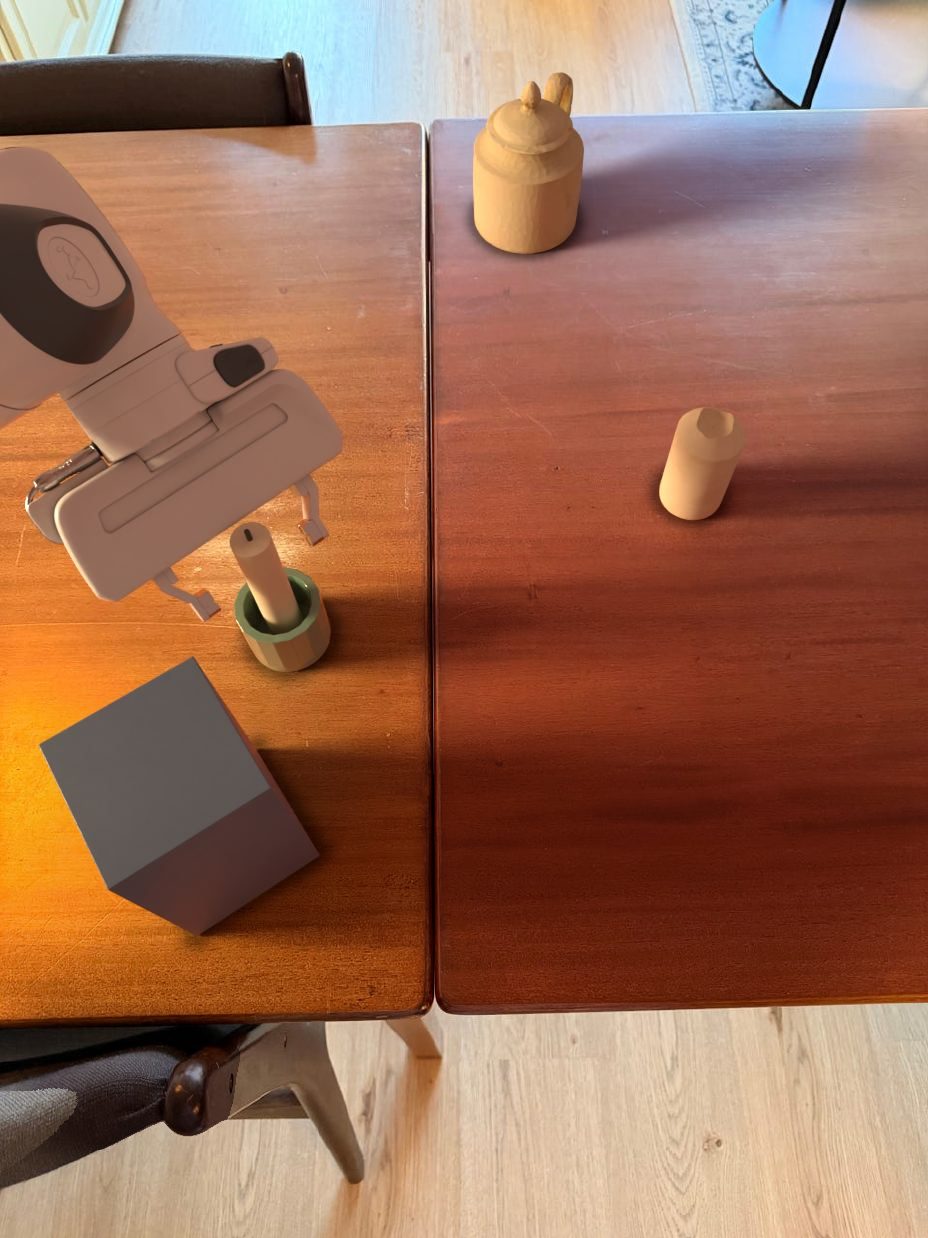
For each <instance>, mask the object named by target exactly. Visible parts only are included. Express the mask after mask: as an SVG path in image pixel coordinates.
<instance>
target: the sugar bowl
mask: <svg viewBox="0 0 928 1238" xmlns="http://www.w3.org/2000/svg"><path fill="white" fill-rule="evenodd" d="M520 93H521V94H520V98H517V99H513V100H511V101H507V102H505V103H503V104H501V105H499V106H498V107H497V108H496V109H495V110H494V111H492V113H491V114H490V115H489V116H488V117H487V120H486V121H485V122H486V123H485V126H484V127H483V128H482V129H481V130H480V131H479V132H478V133H477V135H476V137H475V140H474V143H473V158H472V159H473V161H472V162H473V163H472V189H473V190H472V191H473V217H474V218H473V219H474V225H475V228H476V229H477V232H478V233H479V235H480V237H482V239H484V241H486V242H487V243H489V244H490V245H492V246H493V247H494V248H497V249H500V250H502V251H505V252H508V253H511V254H512V253H513V254H521V255H527V254H529V255H530V254H538V253H544V252H546V251H550V250H551V249H554V248H556V247H558V246H559V245H562V244H563V243H564V242H566V240H567V239H568V238H569V237H570V235H572V233H573V231H574V229H575V227H576V222H577V217H578V208H579V201H580V196H581V195H580V194H581V188H582V178H583V168H584V167H583V166H584V159H585V158H584V157H585V147H584V141H583V138H582V137H581V134H580V133H579V132H578V131H577V130H576V129H575V128H574V124H573V123H574V122H573V120H572V118H571V112H572V104H573V100H574V82H573V78H572V77H571V76H570V75H568V74H567V73H565V72H562V71H561V72H554V73H552V74H551V75H550V76H549V78H548V80H547V82H546V84H545V87H544V90H543V93H541V89H540V87H539V85H538V84H537V83H536V82H535V81H533V80H530V81H528V82H527V83H526V84H525V85H524V86H523V89H522V91H521V92H520Z"/></svg>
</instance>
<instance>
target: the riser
mask: <svg viewBox="0 0 928 1238" xmlns="http://www.w3.org/2000/svg"><path fill="white" fill-rule="evenodd" d="M200 665H201V664H199V662H198V661H197V660H196V658H195V657H194V656H190V657H189V658H187V659H185V660H183V661H181V662H180V663H178V664H177V665H175V666H173V667H171V668H169V669H167V670H166V671H164V672H163V673H161V674H159V675H158V676H156V677H154V678H151V680H149V681H146V682H145V683H144V684H141V685H140V686H138V687H137V688H134V689H133V690H131V691H130V692H128V693H126V694H124V695H122V696H121V697H119V698H117V699H116V700H114V701H112V702H110V703H108V704H106V705H105V706H103V707H102V708H101V707H100V708H99V709H98V710H96V711H95V712H93V713H91V714H89V715H87V716H86V717H84V718H82V719H80V720H78V721H77V722H75V723H74V724H72V725H70V726H68V727H66V728H65V729H63V730H61V731H59V732H58V733H56V734H54V735H53V736H50V737H49V738H47V739H46V740H44V741H41V742H40V743H39V744H38V748H39V749H40V752H41V753H42V755H43V758H44V760H45V762H46V764H47V766H48V769H49V770H50V772H51V774H52V777H53V779H54V780H55V783H56V785H57V787H58V789H59V791H60V793H61V795H62V798H63V799H64V802H65V803H66V806H67V809H69V813H70V814H71V816H72V819H73V820H74V822H75V824H76V827H77V829H78V831H79V833H80V835H81V837H82V839H83V841H84V843H85V845H86V848H87V849H88V852H89V854H90V856H91V858H92V860H93V862H94V864H95V867H96V868H97V870H98V872H99V874H100V877H101V879H102V880H103V883H104V885H105V887H106V889H107V891H109V892H111V893H113V894H115V895H117V896H118V897H121V898H122V899H125V900H126V901H128V902H130V903H132V904H135V905H136V906H138V907H140V908H142V909H143V910H146V911H147V912H149V913H151V914H153V915H155V916H157V917H159V918H160V919H162V920H164V921H166V922H169V923H171V924H172V925H174V926H176V927H179V928H180V929H182V930H184V931H186V932H188V933H189V934H192V935H194V936H196V937H198V936H200V935H201V934H203V933H204V932H206V931H207V930H209V929H210V928H212V927H214V926H215V925H217V924H218V923H220V922H221V921H223V920H224V919H226V918H228V917H229V916H230V915H232V914H233V913H235V912H236V911H238V910H239V909H241V908H243V907H244V906H245V905H247V904H249V903H250V902H252V901H253V900H255V899H256V898H258V897H260V896H261V895H263V894H264V893H265V892H267V891H268V890H270V889H271V888H273V887H274V886H276V885H277V884H280V883H281V882H282V881H284V880H285V879H287V878H288V877H290V876H291V875H293V874H295V873H296V872H298V871H299V870H301V869H302V868H303V867H305V866H306V865H308V864H309V863H311V862H313V861H314V860H316V859H317V858H319V857H320V853H319V852H318V850H317V848H316V846H315V845H314V843H313V842H312V840H311V838H310V837H309V835H308V833H307V832H306V830H305V829H304V827H303V825H302V823H301V822H300V819H299V818H298V817H297V815H296V814H295V812H294V810H293V808H292V807H291V805H290V803H289V802H288V800H287V798H286V796H285V794H284V793H283V791H282V790H281V788H280V787H279V785H278V783H277V781H276V779H275V778H274V777H273V775H272V773H271V772H270V770H269V768H268V767H267V764H265V762H264V760H263V758H262V756H261V755H260V754H259V751H258V750H257V748H256V747H255V745H254V744H253V742H252V741H251V739H250V737H249V736H248V734H247V733H246V732H245V730H244V729H243V727H242V726H241V724H240V723H239V722H238V720H237V718H236V717H235V716H234V714H233V713H232V711H231V710H230V708H229V707H228V705H227V703H225V701H224V699H223V698H222V697H221V695H220V694H219V692H218V690H217V689H216V688H215V686H214V685H213V683H212V682H211V680H210V679H209V677H208V676H207V674H206V672H205V671H204V670H203V668H202V667H201V666H200Z"/></svg>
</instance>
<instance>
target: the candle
mask: <svg viewBox="0 0 928 1238" xmlns="http://www.w3.org/2000/svg"><path fill="white" fill-rule="evenodd" d="M746 441H747V432H746V429H745V426H744V424H743V423H742V422H741V421H740V419H739V418H738V417H736V416H735V415H734V414H733V413H731V412H729V411H727V410H726V409H723V408H720V407H715V406H700V407H697V408H693V409H691V410H689V411H687V412H686V413H685V414H683V415H682V417H680V419H679V421H678V423H677V426H676V429H675V432H674V436H673V440H672V442H671V447H670V450H669V453H668V457H667V460H666V463H665V467H664V470H663V473H662V477H661V479H660V484H659V499H660V502H661V504H662V506H663V507H664V508H665V509H666V511H668V512H669V513H670V514H672V515H673V516H676V517H678V518H680V519H683V520H686V521H688V520H689V521H700V520H703V519H706V518H709V517H710V516H712V515H713V514H714V513H716V511H717V510H718V509H719V507H720V505H721V503H722V502H723V499H724V497H725V494H726V492H727V489H728V487H729V484H730V482H731V479H732V477H733V474H734V472H735V470H736V467H737V464H738V462H739V459H740V457H741V455H742V453H743V449H744V447H745V444H746Z"/></svg>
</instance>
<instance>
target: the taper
mask: <svg viewBox="0 0 928 1238" xmlns="http://www.w3.org/2000/svg"><path fill="white" fill-rule="evenodd" d="M230 534H231V535H230V537H229V547H230V549H231V551H232V553H233V556H234V557H235V560H236V562H237V564H238V567H239V569H240V570H241V572H242V573H241V574H242V575H243V577H244V579H245V582H247V583H248V585H249V588H250V590H251V592H252V594H253V596H254V598H255V600H256V602H257V605H258V607H259V609H260V611H261V613H262V615H263V617H264V619H265V622H266V624H267V626H268V628H269V630H270V632H271V634H272V635H278V634H283V633H288V632H290V631H292V630H293V629H295V628H297V627H299V626H300V625H301V624H302V623H303V621H304V620H303V617H302V614H301V612H300V609H299V607H298V604H297V601H296V599H295V596H294V594H293V591H292V589H291V586H290V583H289V581H288V578H287V576H286V573H285V570H284V568H283V567H284V566H283V562H282V560H281V557H280V555H279V553H278V550H277V547H276V545H275V541H274V539H273V537H272V535H271V532H270V530H269V528H268V527H267V526H266V525H265V524H262V523H260V522H256V521H249V522H244V523H242V524H240V525H239V526H237V527H236V528H235V529H234V530H233V531H232V533H230Z"/></svg>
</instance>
